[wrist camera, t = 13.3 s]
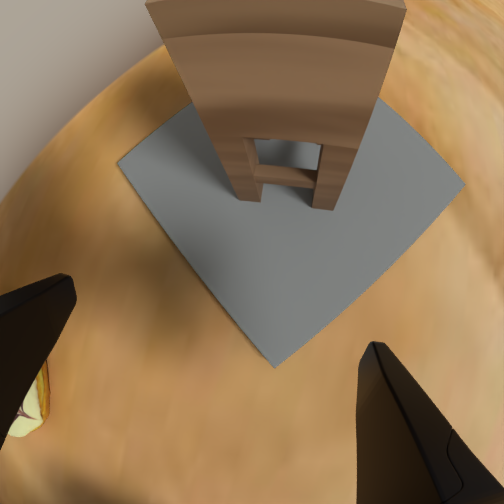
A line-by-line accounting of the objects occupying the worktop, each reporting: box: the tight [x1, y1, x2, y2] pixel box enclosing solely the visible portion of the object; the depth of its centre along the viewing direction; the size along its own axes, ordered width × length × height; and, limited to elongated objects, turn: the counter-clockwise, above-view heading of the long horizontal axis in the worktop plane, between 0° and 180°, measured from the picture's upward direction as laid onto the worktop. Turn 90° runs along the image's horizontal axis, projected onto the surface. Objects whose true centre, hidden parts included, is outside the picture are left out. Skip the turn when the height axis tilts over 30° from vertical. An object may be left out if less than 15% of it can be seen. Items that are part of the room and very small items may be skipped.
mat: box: [117, 97, 466, 368], centre depth 18 cm, size 16×16×1 cm
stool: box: [145, 0, 407, 211], centre depth 11 cm, size 5×5×13 cm
